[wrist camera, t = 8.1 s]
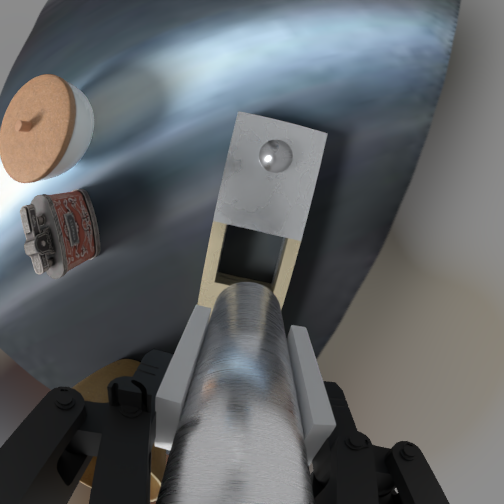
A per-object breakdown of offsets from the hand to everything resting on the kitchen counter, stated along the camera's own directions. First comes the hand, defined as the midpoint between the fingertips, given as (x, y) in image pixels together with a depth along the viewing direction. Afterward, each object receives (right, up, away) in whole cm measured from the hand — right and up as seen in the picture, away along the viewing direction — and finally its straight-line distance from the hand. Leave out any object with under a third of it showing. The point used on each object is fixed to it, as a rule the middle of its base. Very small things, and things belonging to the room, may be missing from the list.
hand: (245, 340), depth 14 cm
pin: (0, +1, +3) cm, 3 cm away
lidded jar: (-20, +18, +12) cm, 30 cm away
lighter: (-19, +8, +15) cm, 25 cm away
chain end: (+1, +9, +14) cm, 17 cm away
